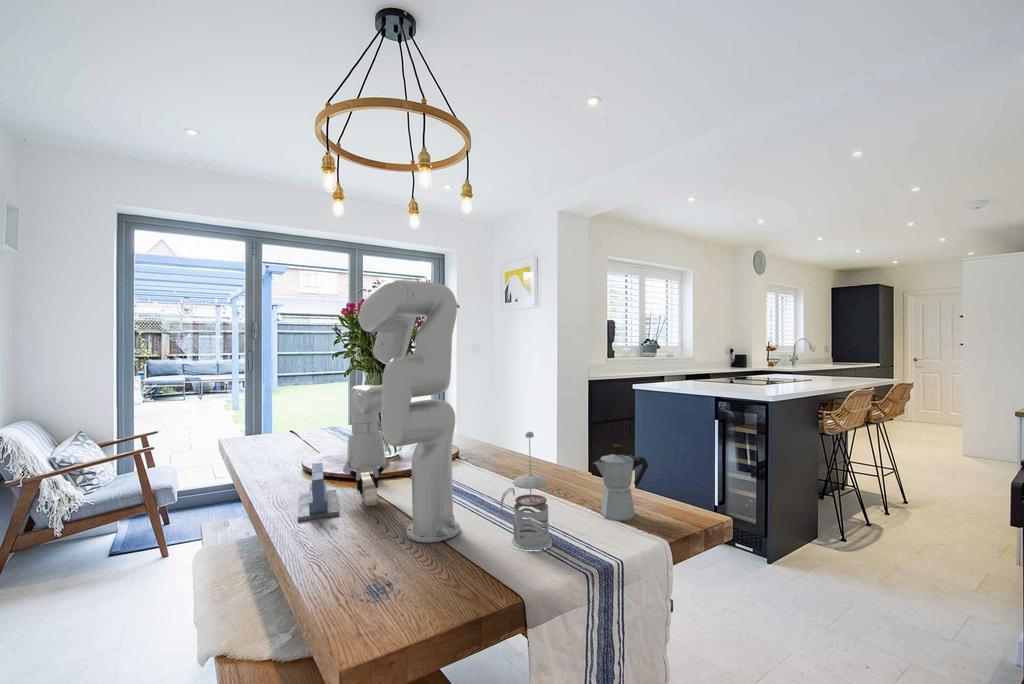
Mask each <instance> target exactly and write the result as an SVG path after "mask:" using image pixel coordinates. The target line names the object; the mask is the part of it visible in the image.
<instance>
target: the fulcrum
mask: <svg viewBox="0 0 1024 684" xmlns="http://www.w3.org/2000/svg"><path fill="white" fill-rule="evenodd" d="M323 467H324V466H323V462H316V463H312V464H311V483H309V492H308V493H301V494H299V496H298V507H297V508H298V509H297V523H300V522H301V521H302V522H306V521H307V522H308V521H313V520H319V519H320V520H321V519H327V518H328V519H329V518H334V517H339V516H340V509H339V502H338V496H337V489H329V490H327V482H326V481H324V468H323Z"/></svg>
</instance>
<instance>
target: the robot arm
mask: <svg viewBox="0 0 1024 684" xmlns="http://www.w3.org/2000/svg"><path fill="white" fill-rule="evenodd" d="M457 311H458V305H457V299H456V297H455V294H454V292H453V291H452V289H451V288H449V287H448V286H446V285H445V284H441V283H438V282H432V281H422V280H421V281H420V280H407V279H406V280H405V279H404V280H403V279H391V280H389V279H388V280H387V281H384V282H382V283H381V284H380V285H379V286H378V287H377V288H375V290H373V291H372V292H370V294H369V295H368V296H367V297H366V298H365V300H363V302H362V304H361V306H360V308H359V312H358V322H359V325H360V328H361V329H362V330H363V331H365V332H368V333H377V334H376V338H375V341H374V346H373V349H372V353H373V356H374V358H375V359H376V360H378V361H379V362H381V363H383V364H385V367H384V370H383V373H382V380H381V381H382V382H381V384H379V385H374V384H358V385H355V386H352V387H351V389H350V417H351V432H350V433H349V434H348V440H347V461H346V462H345V465H344V467H343V468H342V472H343V473H345V474H347V475H351V476H352V477H353V478H354V479H355V480H356V490H357V492H359V494H360V495H362V493H363V489H362V483H363V481H362V478H361V469H365V468H373V476H372V481H373V482H374V484H375V487H376V489H378V488H379V476H380V475H381V474H382V473H383V472H384V470H387V469H388V468H390V466H391V464H390V462H389V460H388V459H387V457H386V453H385V443H384V441H385V442H386V443H387V444H388V445H390V446H391V447H405V446H410V445H415V444H416V446H415V447H414V450H413V453H412V456H411V495H412V496H411V499H412V500H411V503H412V522H411V524H409V525H408V526H407V528H406V530H405V532H406V533H405V534H406V537H407V538H408V539H409V540H411V541H414V542H418V543H431V544H432V543H439V542H443V540H444V541H447V540H450V539H453V538H454V537H455V536H457V535H458V534H459V532H460V531H461V528H460V527H461V526H460V523H459V522H458V521H457V520H455V519H456V518H455V515H454V509H453V508H454V505H453V504H454V503H453V502H454V501H453V500H454V498H453V496H454V495H453V439H454V435H455V434H454V433H455V428H456V414H455V413H456V412H455V409H454V408H453V406H452V405H451V404H450V403H449V402H448V401H445V400H442V399H433V398H432V399H426V400H417V401H412V398H417V397H419V398H420V397H428V396H435V395H439V394H442V393H444V392H446V391H447V390H448V388H449V387H450V383H451V373H452V372H451V371H452V354H453V353H452V350H453V335H454V334H453V333H454V328H455V324H456V320H457V315H458V314H457V313H458V312H457ZM417 317H419V318H420V317H421V318H422V317H424V318H426V319H425V320H423V322H422V323H421V325H420V326H419V328H418V329H417V331H416V333H415V334H416V335H415V340H414V341H415V344H414V345H415V347H414V354H413V355H406V354H407V351H408V349H409V345H410V341H411V338H412V333H413V332H414V331H413V330H414V327H415V323H416V320H417ZM379 413H380V416H381V417H379ZM379 418H380V421H379ZM380 429H381V430H380ZM383 438H384V439H383ZM456 534H457V535H456ZM449 538H450V539H449ZM446 539H447V540H446Z"/></svg>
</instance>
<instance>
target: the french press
mask: <svg viewBox="0 0 1024 684" xmlns="http://www.w3.org/2000/svg"><path fill="white" fill-rule="evenodd" d="M534 436H535V435H534V433H533V432H532V431H527V432H525V438H528V441H529V442H528V443H529V445H528V446H529V448H528V449H529V452H528V453H529V457H531V438H534ZM531 466H532V465H531V461H529V473H526V474H522V475H519V476H517V477H516V478H514V479H513V481H512V485H514V486H515V487H516V488H519V489H526V490H527V489H528V490H529V493H528V494H522V495H521V494H520V495H518V496H517V497H515V498H514V502H515V504H514V505H513V518H514V519H513V518H511V517H510V516H508V515H507V514H506V513H505V511H504V505H503V503H504V499H505V498H506V497H507V496H508V494H509V493H511V492H512V495H513V496H515V495H516V494H515V489H514V487H509V488H508V489H506V490H505V491H504V492H503V495H502V496H501V500H500V508H501V512H502V513H501V514H502V515H503V517H504V518H505V519H506V520H507V521H509V522H510V523H512V525H513V537H512V538H511V539H512V541H511V540H510V541H511V543H512V544H513V546H515V547H517V548H519V549H523V550H540V549H544V548H546V547H549V546H550V545H551V544H552V540H553V539H552V538H551V537H550V535H549V533H550V532H549V505H548V504H547V501H548V499H547V498H546V497H545V496H544V495H540V494H534V493H533V494H532V490H533V489H540V488H541V489H542V488H545V487H546V486H548V484H549V480H548V479H546V478H545V477H544V476H542V475H539V474H535V473H531V470H532V469H531ZM522 507H524V508H522ZM520 508H521V509H520ZM532 508H534V509H535V510H537V511H535V510H533V509H532ZM523 518H524V519H523ZM521 519H522V520H521ZM532 519H533V520H532ZM534 520H535V521H534ZM533 525H534V526H533ZM536 526H537V527H536ZM540 528H541V529H540Z"/></svg>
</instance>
